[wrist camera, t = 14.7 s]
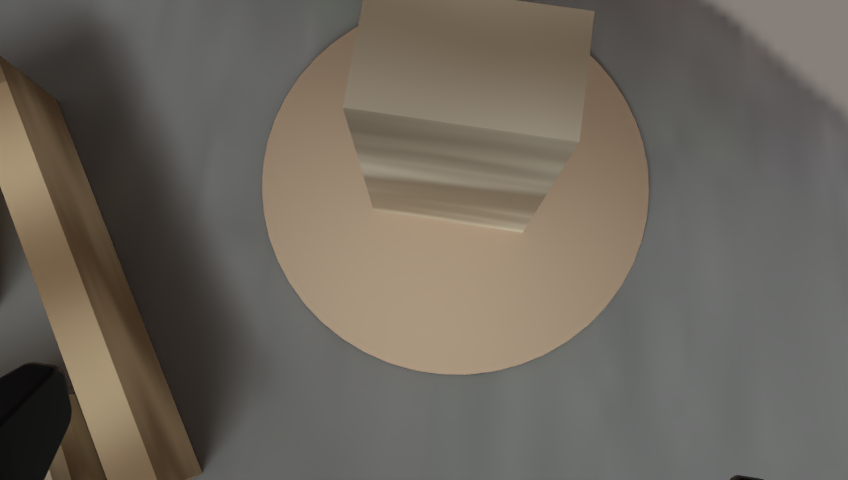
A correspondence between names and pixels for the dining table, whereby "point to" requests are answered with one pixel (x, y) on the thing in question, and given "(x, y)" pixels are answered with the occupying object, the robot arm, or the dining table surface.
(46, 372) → the robot arm
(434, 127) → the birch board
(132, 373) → the frame
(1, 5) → the dining table surface
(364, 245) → the cork mat
